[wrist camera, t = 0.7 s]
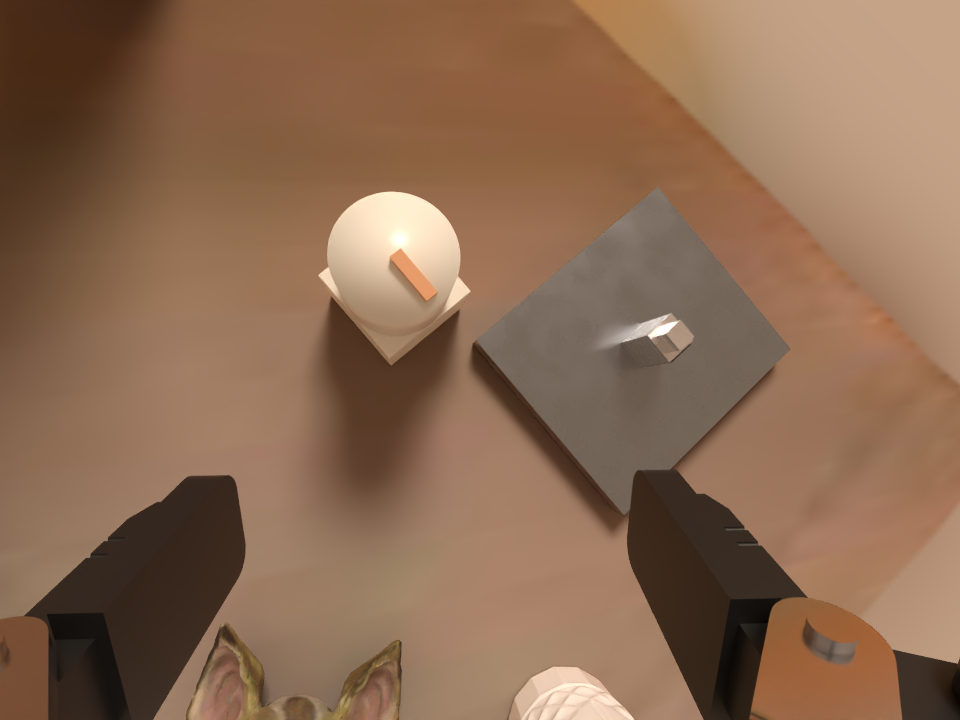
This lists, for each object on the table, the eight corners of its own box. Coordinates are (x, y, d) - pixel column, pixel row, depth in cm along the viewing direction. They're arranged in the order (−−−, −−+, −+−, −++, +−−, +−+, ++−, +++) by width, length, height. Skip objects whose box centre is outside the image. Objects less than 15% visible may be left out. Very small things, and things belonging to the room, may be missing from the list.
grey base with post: (472, 343, 32) (489, 329, 26) (646, 196, 35) (697, 153, 29) (613, 510, 32) (661, 533, 26) (774, 351, 35) (849, 340, 29)
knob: (331, 296, 31) (296, 240, 21) (402, 241, 32) (403, 162, 22) (390, 366, 31) (386, 345, 21) (459, 309, 32) (487, 263, 22)
